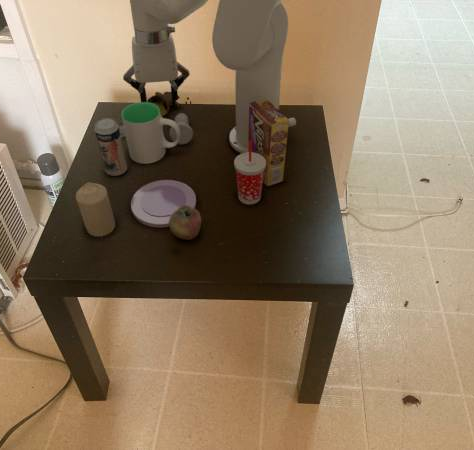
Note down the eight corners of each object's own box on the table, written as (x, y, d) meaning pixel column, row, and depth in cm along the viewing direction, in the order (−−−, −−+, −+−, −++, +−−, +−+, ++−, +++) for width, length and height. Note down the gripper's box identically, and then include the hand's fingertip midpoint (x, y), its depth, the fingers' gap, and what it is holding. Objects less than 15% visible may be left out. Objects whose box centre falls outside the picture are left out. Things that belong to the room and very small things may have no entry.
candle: (84, 220, 94) (71, 181, 87) (113, 213, 96) (102, 174, 88) (88, 240, 91) (75, 201, 84) (117, 232, 92) (107, 193, 85)
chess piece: (187, 120, 107) (187, 104, 115) (165, 128, 108) (166, 112, 115) (196, 140, 111) (196, 123, 118) (175, 148, 111) (175, 131, 119)
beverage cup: (254, 211, 96) (256, 154, 86) (228, 199, 98) (227, 143, 88) (270, 193, 99) (273, 137, 89) (244, 183, 102) (244, 127, 92)
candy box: (284, 181, 102) (290, 119, 91) (267, 187, 101) (270, 125, 90) (264, 158, 108) (266, 97, 97) (247, 163, 106) (247, 102, 95)
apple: (167, 251, 89) (164, 228, 84) (173, 220, 94) (169, 197, 90) (200, 251, 89) (198, 229, 84) (203, 220, 94) (202, 198, 90)
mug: (185, 142, 111) (181, 103, 104) (180, 164, 106) (175, 124, 98) (133, 141, 112) (125, 101, 105) (126, 163, 106) (117, 122, 99)
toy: (167, 118, 118) (188, 109, 126) (166, 96, 115) (187, 88, 124) (144, 115, 120) (166, 106, 128) (142, 94, 118) (164, 86, 126)
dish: (181, 176, 103) (180, 171, 103) (207, 213, 95) (206, 209, 95) (122, 195, 99) (121, 191, 98) (144, 236, 91) (143, 232, 90)
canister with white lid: (100, 173, 104) (88, 126, 96) (114, 160, 107) (103, 114, 99) (118, 179, 103) (107, 132, 94) (132, 167, 106) (122, 120, 97)
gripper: (188, 23, 111) (192, 92, 124) (112, 27, 109) (124, 97, 122) (192, 37, 106) (196, 108, 119) (111, 43, 104) (124, 114, 117)
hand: (159, 102), depth 120 cm, fingers closed on toy, 6 cm apart
